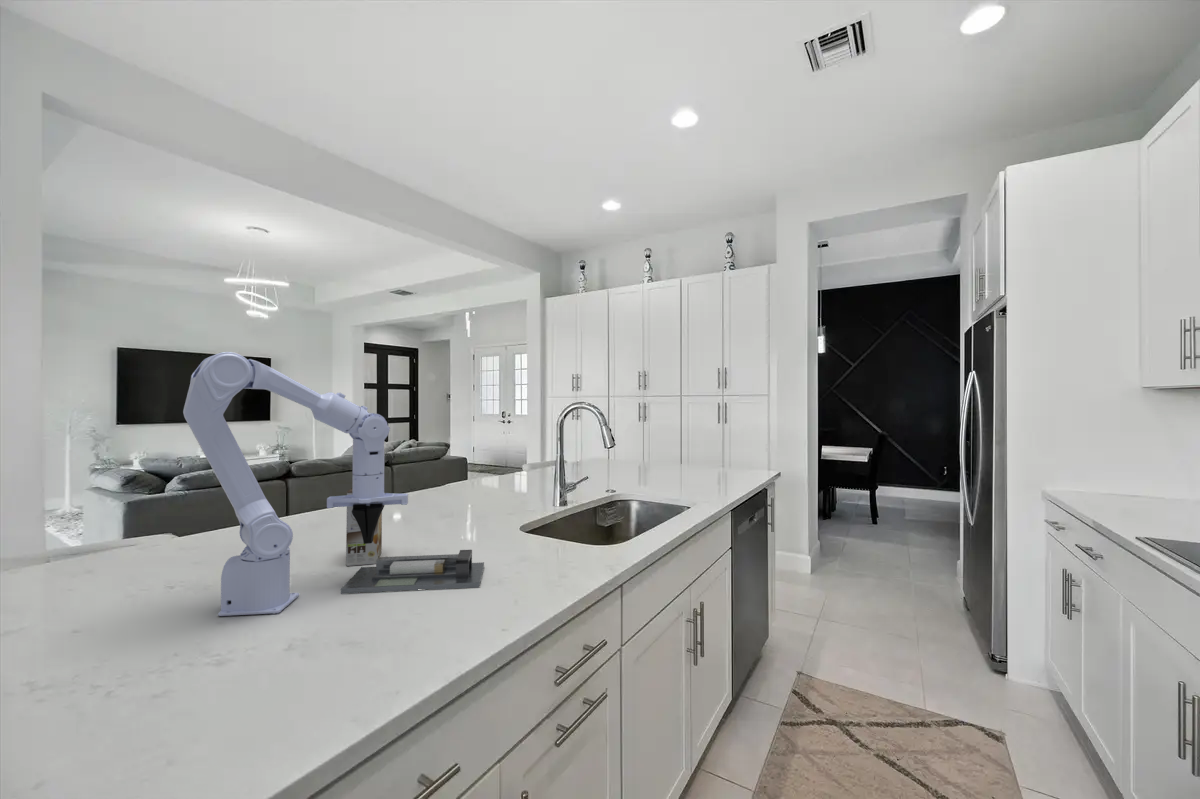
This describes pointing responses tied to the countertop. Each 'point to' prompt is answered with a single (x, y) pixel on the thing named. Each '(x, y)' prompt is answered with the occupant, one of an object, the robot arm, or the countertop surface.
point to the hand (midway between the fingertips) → (368, 542)
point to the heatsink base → (455, 575)
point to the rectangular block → (417, 567)
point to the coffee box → (361, 541)
